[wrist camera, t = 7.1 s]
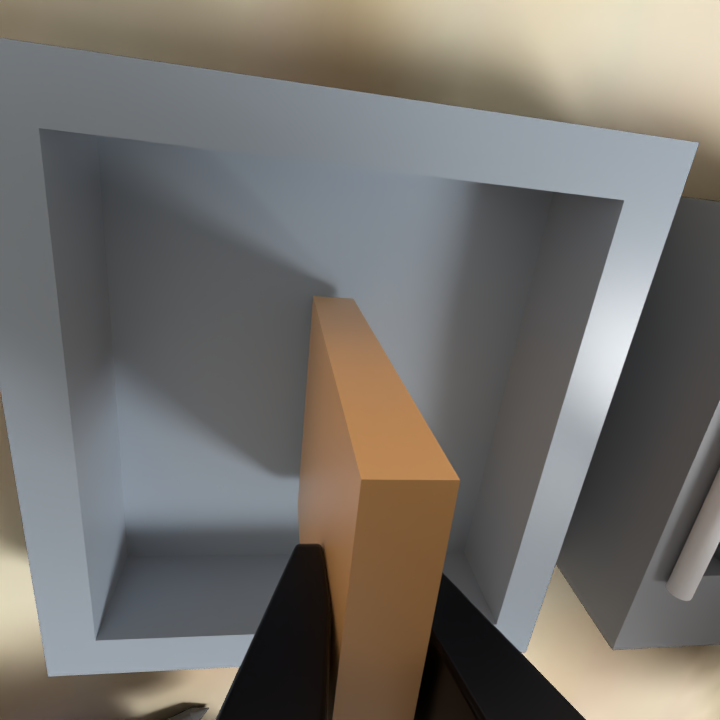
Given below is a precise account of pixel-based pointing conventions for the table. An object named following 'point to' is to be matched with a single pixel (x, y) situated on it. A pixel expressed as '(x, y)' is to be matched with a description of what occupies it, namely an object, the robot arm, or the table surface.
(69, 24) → the table surface
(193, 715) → the figurine character
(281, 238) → the tray
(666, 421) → the dispenser
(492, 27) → the table surface
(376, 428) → the tan wooden block
